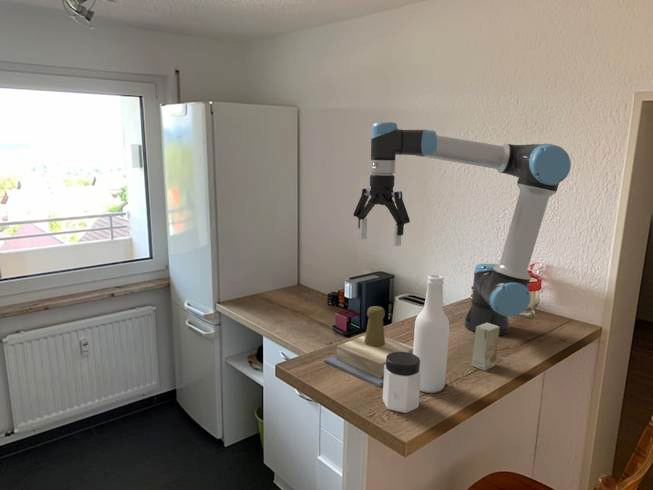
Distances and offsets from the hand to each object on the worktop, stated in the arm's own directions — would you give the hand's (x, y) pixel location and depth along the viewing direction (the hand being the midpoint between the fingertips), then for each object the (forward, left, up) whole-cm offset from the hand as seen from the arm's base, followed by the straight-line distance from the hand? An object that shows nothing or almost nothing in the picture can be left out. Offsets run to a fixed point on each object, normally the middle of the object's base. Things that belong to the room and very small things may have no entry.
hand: (379, 242), depth 155 cm
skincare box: (-8, +34, -33) cm, 48 cm away
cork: (+12, +9, -28) cm, 31 cm away
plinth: (+14, +11, -32) cm, 37 cm away
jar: (+28, +30, -33) cm, 52 cm away
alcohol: (+15, +30, -33) cm, 46 cm away
